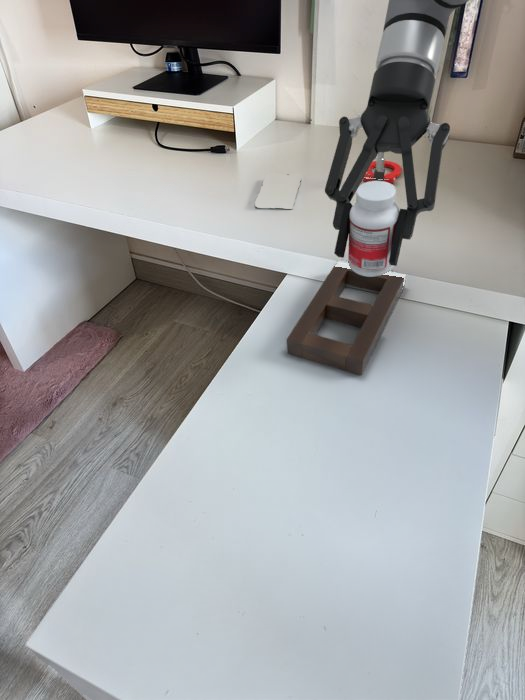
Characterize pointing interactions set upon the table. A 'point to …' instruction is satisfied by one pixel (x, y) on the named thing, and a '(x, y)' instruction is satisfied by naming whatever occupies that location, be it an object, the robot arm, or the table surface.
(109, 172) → the table surface
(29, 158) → the table surface
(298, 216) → the table surface
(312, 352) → the rack
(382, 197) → the pill bottle
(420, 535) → the table surface
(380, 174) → the tow hook
